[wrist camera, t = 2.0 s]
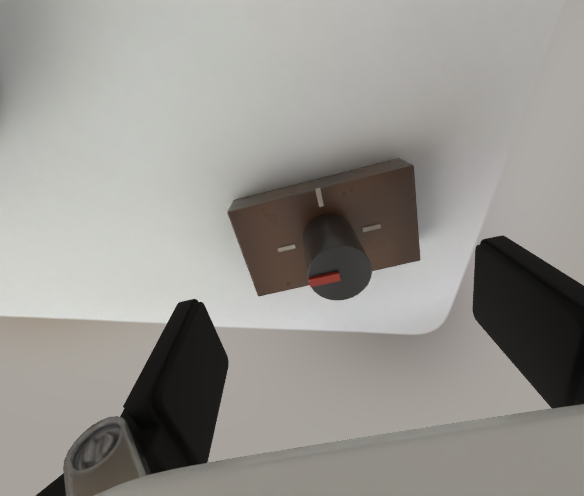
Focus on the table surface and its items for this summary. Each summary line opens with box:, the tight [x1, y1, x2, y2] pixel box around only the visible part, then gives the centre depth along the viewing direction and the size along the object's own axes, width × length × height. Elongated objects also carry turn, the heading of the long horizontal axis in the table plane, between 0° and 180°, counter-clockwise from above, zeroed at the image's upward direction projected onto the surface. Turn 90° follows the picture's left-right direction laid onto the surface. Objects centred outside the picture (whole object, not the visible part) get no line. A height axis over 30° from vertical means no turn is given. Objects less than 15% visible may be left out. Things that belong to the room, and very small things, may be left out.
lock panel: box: [228, 158, 420, 296], centre depth 25 cm, size 14×8×3 cm, turn 104°
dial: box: [303, 214, 372, 300], centre depth 21 cm, size 4×4×6 cm
